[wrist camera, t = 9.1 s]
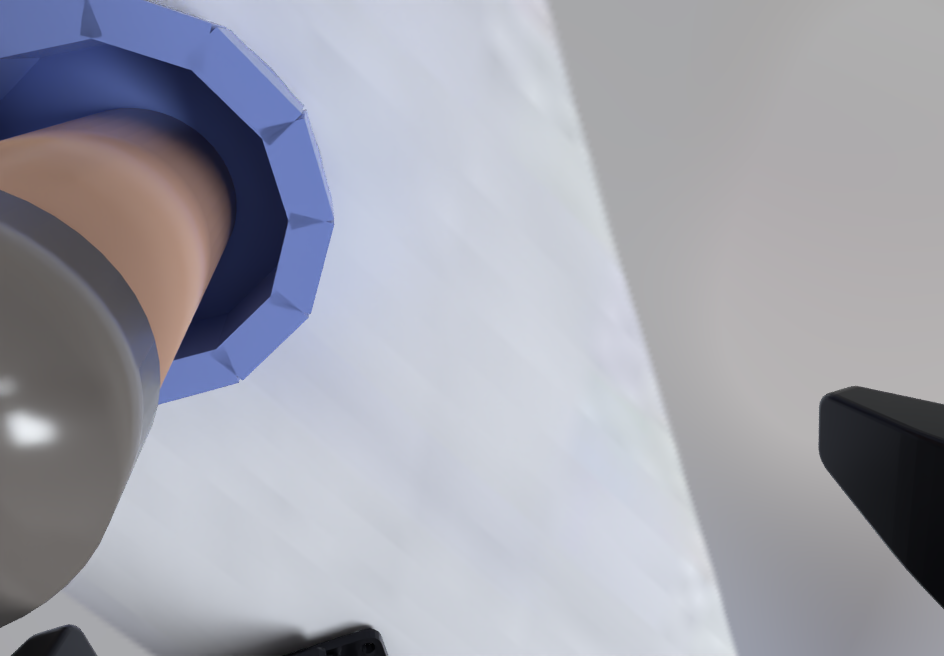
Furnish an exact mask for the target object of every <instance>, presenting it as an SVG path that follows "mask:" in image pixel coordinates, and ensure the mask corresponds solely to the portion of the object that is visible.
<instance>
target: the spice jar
mask: <svg viewBox="0 0 944 656" xmlns="http://www.w3.org/2000/svg"><path fill="white" fill-rule="evenodd" d="M236 213H237V200H236V193H235V188H234V184H233V181H232V178H231V175H230V173H229V171H228V168H227V166H226V165H225V163H224V161H223V159H222V158H221V156H220V155H219V154H218V152H217V151H216V150H215V148H214V147H213V146H212V145H211V144H210V143H209V142H208V141H207V140H206V139H205V138H204V137H203V136H202V135H201V134H199V133H198V132H197V131H196V130H195V129H193V128H192V127H190V126H188V125H187V124H185V123H184V122H182V121H180V120H178V119H176V118H174V117H172V116H169V115H166V114H163V113H160V112H157V111H152V110H148V109H140V108H118V109H112V110H106V111H103V112H99V113H96V114H92V115H89V116H85V117H82V118H78V119H75V120H71V121H68V122H64V123H61V124H57V125H54V126H50V127H47V128H43V129H40V130H36V131H33V132H29V133H26V134H22V135H19V136H15V137H12V138H8V139H5V140H1V141H0V628H1V627H2V626H5V625H7V624H9V623H11V622H13V621H15V620H17V619H19V618H21V617H23V616H25V615H27V614H28V613H30V612H31V611H33V610H34V609H36V608H38V607H39V606H41V605H42V604H44V603H45V602H47V601H48V600H49V599H51V598H52V597H53V596H54V595H56V594H57V593H58V592H59V591H60V590H62V589H63V588H64V587H65V586H66V585H68V584H69V582H70V581H71V580H72V579H73V578H74V577H75V576H76V575H77V574H78V573H79V572H80V570H81V569H82V568H83V567H84V566H85V565H86V563H87V562H88V560H89V559H90V557H91V556H92V555H93V553H94V552H95V550H96V549H97V547H98V546H99V544H100V542H101V540H102V538H103V535H104V533H105V531H106V529H107V527H108V525H109V522H110V520H111V518H112V516H113V513H114V511H115V509H116V506H117V504H118V502H119V500H120V497H121V495H122V493H123V491H124V488H125V486H126V484H127V481H128V479H129V477H130V475H131V472H132V470H133V468H134V465H135V463H136V461H137V459H138V456H139V454H140V452H141V450H142V447H143V445H144V443H145V440H146V438H147V436H148V434H149V431H150V429H151V427H152V424H153V421H154V417H155V414H156V410H157V407H158V401H159V392H160V388H161V386H162V383H163V381H164V379H165V377H166V375H167V373H168V370H169V368H170V366H171V364H172V362H173V360H174V357H175V355H176V353H177V351H178V349H179V347H180V344H181V342H182V340H183V338H184V336H185V334H186V332H187V329H188V327H189V325H190V323H191V321H192V319H193V316H194V314H195V312H196V310H197V308H198V306H199V303H200V301H201V299H202V297H203V295H204V293H205V290H206V288H207V286H208V284H209V282H210V280H211V278H212V275H213V273H214V271H215V269H216V267H217V265H218V262H219V260H220V258H221V256H222V254H223V252H224V249H225V247H226V245H227V243H228V241H229V239H230V236H231V234H232V232H233V228H234V225H235V220H236Z"/></svg>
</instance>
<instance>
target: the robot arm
mask: <svg viewBox="0 0 944 656" xmlns="http://www.w3.org/2000/svg"><path fill="white" fill-rule="evenodd" d="M819 454H820V458H821V460H822V462H823V464H824V466H825V468H826V469H827V471H828V472H829V473H830V475H831V476H832V477H833V478H834V480H835V481H836V482H837V483H838V485H839V486H840V487H841V489H842V490H843V491H844V492H845V494H846V495H847V496H848V497H849V499H850V500H851V501H852V502H853V504H854V505H855V506H856V508H857V509H858V510H859V511H860V513H861V514H862V515H863V516H864V518H865V519H866V520H867V521H868V523H869V524H870V525H871V527H872V528H873V529H874V530H875V532H876V533H877V534H878V535H879V536H880V538H881V539H882V540H883V542H884V543H885V544H886V545H887V547H888V548H889V549H890V550H891V552H892V553H893V554H894V555H895V557H896V558H897V559H898V560H899V561H900V562H901V564H902V565H903V566H904V567H905V568H906V570H907V571H908V572H909V573H910V574H911V575H912V576H913V577H914V578H915V579H916V580H917V582H918V583H919V584H920V585H921V586H922V587H923V588H924V589H925V590H926V591H927V592H928V593H929V594H930V595H931V596H932V597H933V599H934V600H936V602H937V603H938V604H939V605H940V606H941V607H942V608H943V609H944V404H939V403H935V402H930V401H925V400H921V399H916V398H911V397H907V396H902V395H897V394H893V393H888V392H883V391H878V390H873V389H869V388H864V387H859V386H851V387H847V388H844V389H841V390H838V391H835V392H831V393H828V394H826V395H825V396H823V398H822V399H821V401H820V405H819ZM366 643H371V644H368V645H365V644H366ZM11 656H97V655H96V653H95V651H94V650H93V648H92V646H91V645H90V643H89V642H88V640H87V638H86V637H85V635H84V633H83V632H82V631H81V629H80V628H78V627H77V626H74V625H64V626H61V627H57V628H54V629H51V630H47V631H44V632H41V633H38V634H35V635H33V636H32V637H30V638H29V639H28V640H27V641H26V642H25V643H24V644H22V645H21V647H19V648H18V650H16V651H15V652H14V653H13V654H12V655H11ZM284 656H388V653H387V651H386V648H385V645H384V642H383V639H382V637H381V634H380V633H379V632H378V631H376V630H374V629H366V630H362V631H359V632H356V633H353V634H349V635H346V636H343V637H340V638H337V639H334V640H331V641H328V642H324V643H321V644H318V645H315V646H312V647H309V648H306V649H303V650H299V651H296V652H293V653H290V654H287V655H284Z"/></svg>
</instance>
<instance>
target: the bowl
mask: <svg viewBox="0 0 944 656" xmlns="http://www.w3.org/2000/svg"><path fill="white" fill-rule="evenodd" d="M303 107H304V105H303V104H302V103H301V102H300V101H299V100H298V99H297V98H296V97H295V96H294V95H293V94H292V93H291V92H290V90H289V89H288V87H287V86H286V85H285V84H284V83H283V81H282V80H281V79H280V78H279V77H278V76H277V74H276V73H275V72H274V71H273V70H272V69H271V67H269V66H268V65H267V64H266V63H265V62H264V61H263V60H262V59H261V58H260V57H259V56H257V55H256V54H255V53H254V52H253V51H252V50H251V49H249V48H248V47H247V46H246V45H245V44H244V43H243V42H242V41H241V40H240V39H239V38H238V37H237V36H236V35H235V34H234V33H233V32H232V31H231V30H229V29H226V27H224V26H221V25H218V24H215V23H212V22H209V21H206V20H204V19H201V18H198V17H195V16H192V15H189V14H186V13H184V12H181V11H177V10H174V9H171V8H168V7H165V6H162V5H159V4H156V3H153V2H150V1H148V0H0V141H1V140H5V139H8V138H12V137H15V136H19V135H22V134H26V133H29V132H33V131H36V130H40V129H43V128H47V127H50V126H54V125H57V124H61V123H64V122H68V121H71V120H75V119H78V118H82V117H85V116H89V115H92V114H96V113H99V112H103V111H106V110H112V109H118V108H140V109H148V110H152V111H157V112H160V113H163V114H166V115H169V116H172V117H174V118H176V119H178V120H180V121H182V122H184V123H185V124H187V125H188V126H190V127H192V128H193V129H195V130H196V131H197V132H198V133H199V134H201V135H202V136H203V137H204V138H205V139H206V140H207V141H208V142H209V143H210V144H211V145H212V146H213V147H214V148H215V150H216V151H217V152H218V154H219V155H220V156H221V158H222V159H223V161H224V163H225V165H226V166H227V168H228V171H229V173H230V175H231V178H232V181H233V184H234V188H235V193H236V200H237V213H236V220H235V225H234V228H233V232H232V234H231V236H230V239H229V241H228V243H227V245H226V247H225V249H224V252H223V254H222V256H221V258H220V260H219V262H218V265H217V267H216V269H215V271H214V273H213V275H212V278H211V280H210V282H209V284H208V286H207V288H206V290H205V293H204V295H203V297H202V299H201V301H200V303H199V306H198V308H197V310H196V312H195V314H194V316H193V319H192V321H191V323H190V325H189V327H188V329H187V332H186V334H185V336H184V338H183V340H182V342H181V344H180V347H179V349H178V351H177V353H176V355H175V357H174V360H173V362H172V364H171V366H170V368H169V370H168V373H167V375H166V377H165V379H164V381H163V383H162V386H161V388H160V392H159V401H158V405H159V404H162V403H166V402H170V401H173V400H177V399H181V398H184V397H188V396H192V395H195V394H199V393H203V392H206V391H210V390H214V389H217V388H221V387H225V386H228V385H232V384H236V383H239V380H240V379H241V380H244V379H245V378H246V377H247V376H248V375H249V374H250V373H251V372H252V371H253V370H254V369H255V368H256V367H257V366H258V365H259V364H260V363H261V362H263V361H264V360H265V359H266V358H267V357H268V356H269V355H270V354H271V353H272V352H273V351H274V350H275V349H276V348H277V347H278V346H279V345H280V344H281V343H282V342H283V341H284V340H286V339H287V338H288V337H289V336H290V335H291V334H292V333H293V332H294V331H295V330H296V329H297V328H298V327H299V326H300V325H301V324H302V323H303V322H304V321H305V320H306V319H307V318H308V317H309V314H311V311H312V307H313V303H314V299H315V295H316V292H317V288H318V284H319V280H320V276H321V272H322V269H323V265H324V261H325V257H326V253H327V250H328V246H329V242H330V238H331V234H332V230H333V227H334V213H333V204H332V197H331V193H330V190H329V186H328V183H327V179H326V176H325V173H324V169H323V165H322V160H321V156H320V151H319V148H318V145H317V142H316V139H315V137H314V134H313V131H312V128H311V124H310V121H309V117H308V114H307V111H306V110H303Z"/></svg>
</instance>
